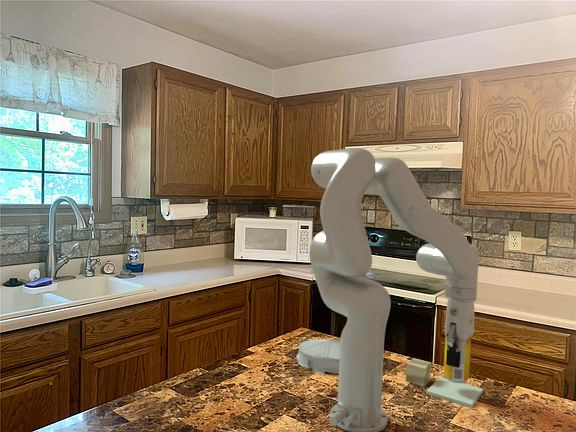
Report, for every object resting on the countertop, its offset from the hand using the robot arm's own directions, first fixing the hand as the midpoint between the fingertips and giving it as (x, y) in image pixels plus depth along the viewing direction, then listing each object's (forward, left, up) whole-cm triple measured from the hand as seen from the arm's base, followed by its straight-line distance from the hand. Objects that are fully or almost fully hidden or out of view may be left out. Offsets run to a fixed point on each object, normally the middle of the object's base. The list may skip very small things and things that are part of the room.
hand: (456, 361), depth 112 cm
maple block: (+1, +10, -8) cm, 13 cm away
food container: (-3, +36, -9) cm, 37 cm away
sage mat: (0, 0, -8) cm, 8 cm away
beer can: (0, 0, -5) cm, 5 cm away
